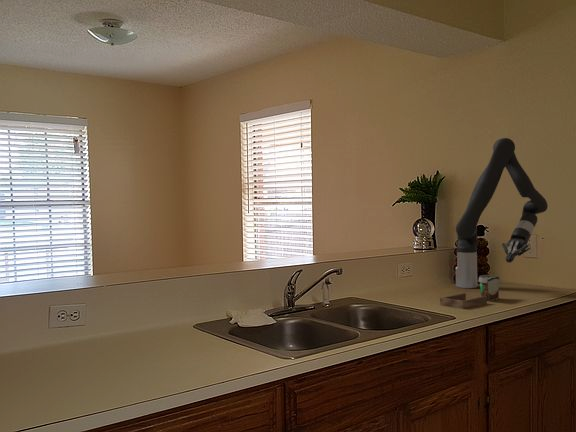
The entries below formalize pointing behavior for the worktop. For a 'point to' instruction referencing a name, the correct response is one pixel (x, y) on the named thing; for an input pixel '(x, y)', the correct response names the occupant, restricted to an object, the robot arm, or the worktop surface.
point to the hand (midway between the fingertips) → (508, 261)
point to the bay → (462, 301)
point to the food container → (489, 286)
